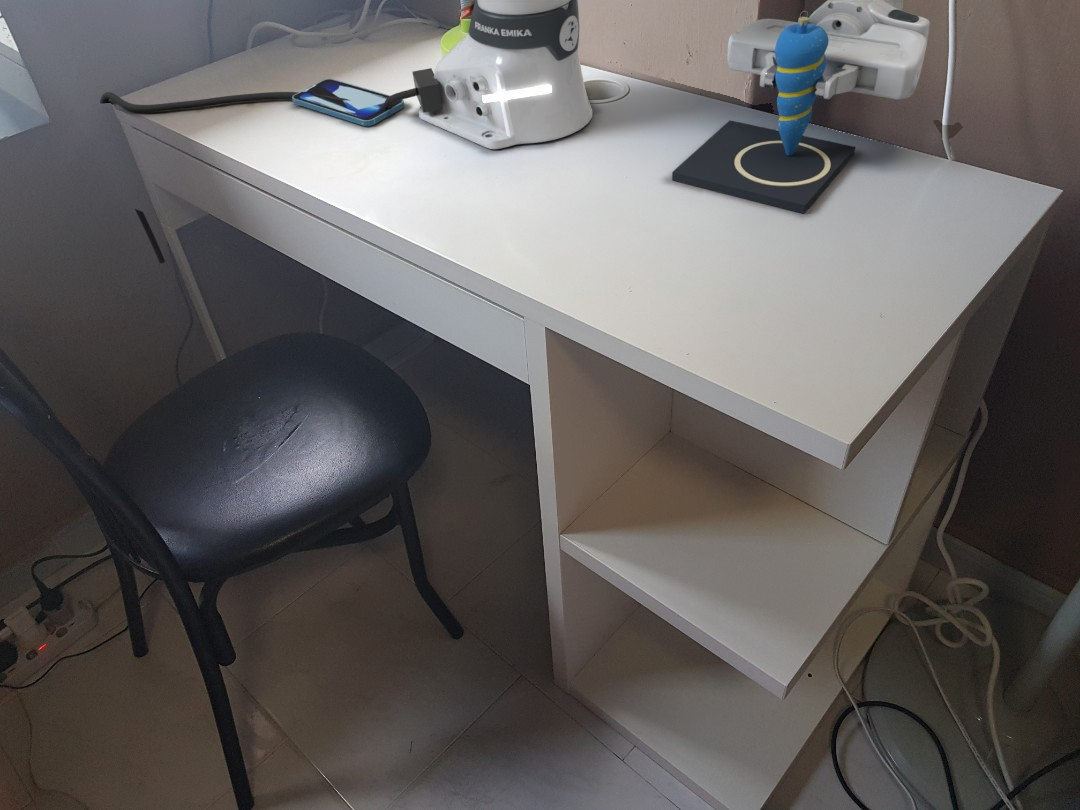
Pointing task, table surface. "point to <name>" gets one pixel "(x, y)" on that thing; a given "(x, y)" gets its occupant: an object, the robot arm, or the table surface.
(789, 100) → the ornament
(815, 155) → the mat
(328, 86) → the smartphone
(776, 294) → the table surface
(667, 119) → the table surface
